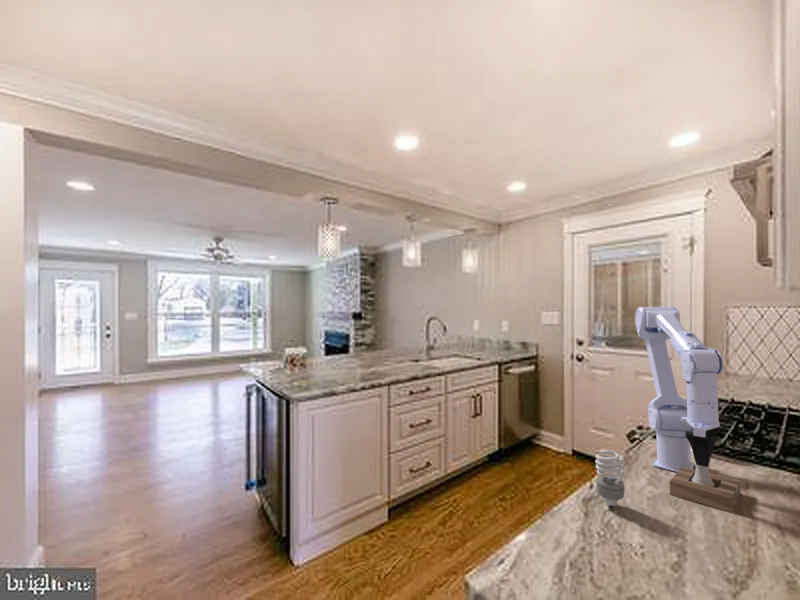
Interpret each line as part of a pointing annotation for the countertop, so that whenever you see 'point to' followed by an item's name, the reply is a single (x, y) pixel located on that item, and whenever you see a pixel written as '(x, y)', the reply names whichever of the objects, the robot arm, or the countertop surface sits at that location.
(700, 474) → the rook chess piece
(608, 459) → the light bulb
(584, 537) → the countertop surface
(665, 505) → the countertop surface
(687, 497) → the socket block
